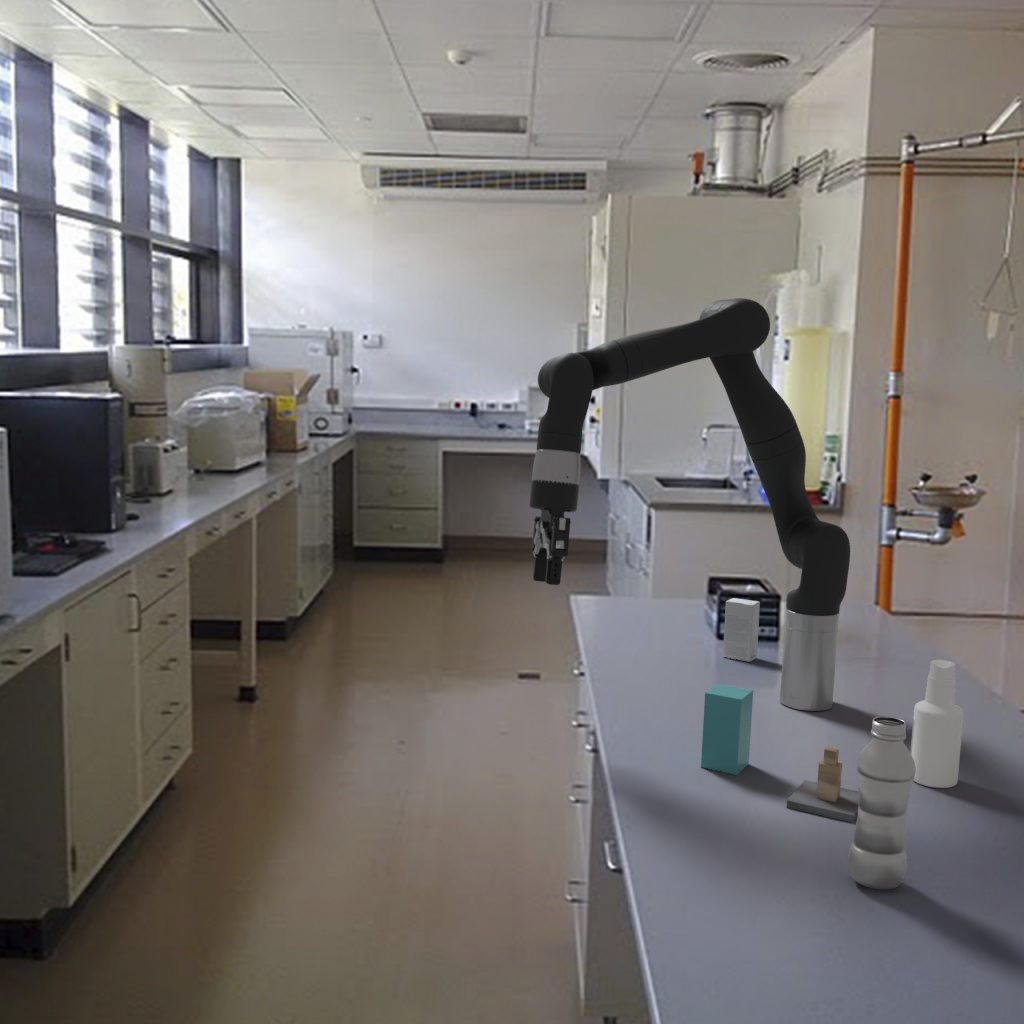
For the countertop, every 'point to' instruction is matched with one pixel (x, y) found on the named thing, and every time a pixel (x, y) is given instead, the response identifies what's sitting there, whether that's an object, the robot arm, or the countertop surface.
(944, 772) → the spray bottle
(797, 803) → the post
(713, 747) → the teal pillar
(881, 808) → the plastic bottle
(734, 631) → the skincare box
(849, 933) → the countertop surface
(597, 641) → the countertop surface
